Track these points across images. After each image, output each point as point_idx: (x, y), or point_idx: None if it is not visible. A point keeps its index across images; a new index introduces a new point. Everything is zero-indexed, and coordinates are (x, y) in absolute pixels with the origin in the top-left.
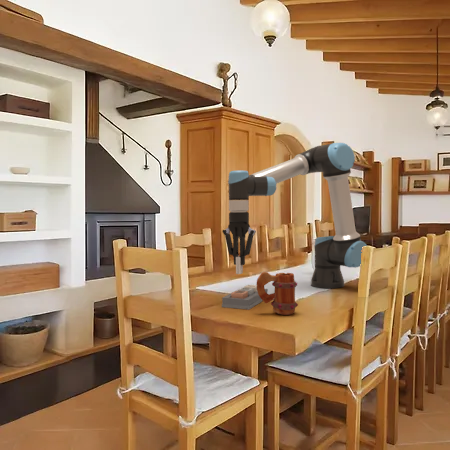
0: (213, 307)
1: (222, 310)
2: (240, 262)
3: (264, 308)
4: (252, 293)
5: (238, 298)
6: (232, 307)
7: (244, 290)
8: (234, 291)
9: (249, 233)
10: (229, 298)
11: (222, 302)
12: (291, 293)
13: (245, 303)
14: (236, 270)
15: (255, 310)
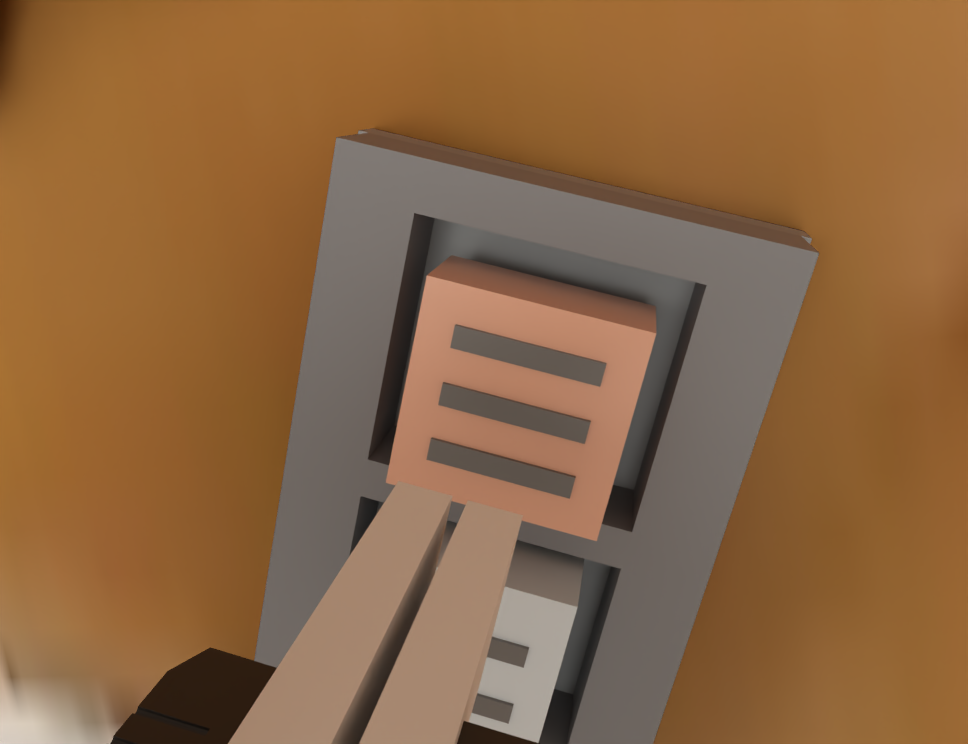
0: (940, 190)
1: (765, 7)
2: (260, 718)
3: (185, 229)
4: None
5: (516, 221)
6: (626, 191)
7: None
8: (615, 464)
9: None
10: (678, 220)
11: (802, 238)
12: None
13: (402, 143)
14: (489, 559)
15: (277, 92)
